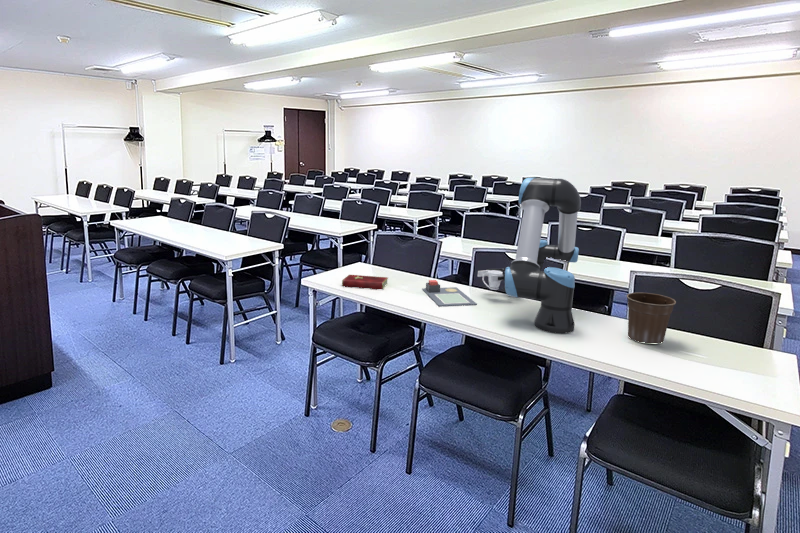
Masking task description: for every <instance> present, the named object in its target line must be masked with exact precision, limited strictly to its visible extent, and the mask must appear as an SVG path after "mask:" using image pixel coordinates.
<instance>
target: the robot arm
mask: <svg viewBox="0 0 800 533" xmlns="http://www.w3.org/2000/svg"><path fill="white" fill-rule="evenodd" d="M581 200H582V199H581V196H580V192H579V191H578V190H577V188H576V186H575V185H574V184H572V182H570V181H569V180H566V179H564V178H550V177H549V178H548V177H535V176H534V177H526V178H525V179H523V181H522V183H521V185H520V188H519V194H518V204H519V205H520V207H521V209H522V210H523V215H522V220H521V224H520V225H521V226H520V232H519V236H518V243H517V248H516V255H515V258H514V259H513V260H512V261H511V262H510V264H509V265H510V266H507V267H505V268H504V267H502V268H486V270H477V277H478V278H481V277H482V278H483V274H484V273H486V272H488V271H492V270H495V271H501V272H503V274H502V275H493V276H491V282H494V281H501V282H504V289H505V293H506V295H507V296H509V297H515V298H522V299H527V300H528V299H529V300H530V299H531V300H539V301H541V303H540V308H539V309H538V312H537V314H536V317H535V319H534V326H535V328H536V329H538V330H540V331H544V332H545V333H546V332H547V333H551V334H561V335H562V334H571V333H573V332H574V330H575V326H576V325H575V320H574V319H575V318H574V316H573V311H572V310H573V309H572V308H573V302H574V301H573V300H574V299H573V298H574V292H575V291H574V290H575V287H576V285H575V281H576V280H575V279H576V278H575V275H574V274H573V273H572V272H570V271H568V270H565V269H562V268H559V267H552V266H549V267H547V268H545V269H544V271H541V269H542V267H543V263H544V259H546V257H548V258H550V257H552V258H554V259H561V260H566V261H568V262H567V263H577V262H578V260H579V252H580V249H579V247H577V246H576V239H577V238H576V235H577V223H578V215H579V214H578V212H580V210H581V207H582V206H581V205H582V201H581ZM550 207H556V208H557V211H558V214H559V215H558V216H559V217H558V218H559V219H558V235H557V236H558V238H557V244H548V243H549V242H548V240H546V239H542V234H543V233H542V231H543V225H544V219H545V214H546V213H547V212H548V211H549V210H550ZM484 277H488V274H487V273H486V274H485V275H484Z"/></svg>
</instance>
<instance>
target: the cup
mask: <svg viewBox="0 0 800 533" xmlns="http://www.w3.org/2000/svg"><path fill="white" fill-rule="evenodd" d="M486 273H487V274H488V276H487V277H488V284H487V283H486V281H485V276H484V275H485V274H486ZM486 273H484V274H483V277H482V282H483V284H484V285H485V286H486V287H487V288H489V290H494V291H497V290H499V289H500V288H499V287H500V286H501V282H502V281H494V282H491V276H493V275H502V274H503V272H501V271H495V270H492V271H488V272H486Z"/></svg>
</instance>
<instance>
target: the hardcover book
mask: <svg viewBox="0 0 800 533" xmlns="http://www.w3.org/2000/svg"><path fill="white" fill-rule="evenodd" d="M388 280H389V277H386V276H371V275H360V274H348V275H346V276H345V277H344V278H342V280H341V285H342V286H345V287H344V288H352V287H359V288H358V289H364V288H372V289H371V290H377V289H383V290H384V289H385V288H386V286H387V285H388ZM386 284H387V285H386ZM385 285H386V286H385Z"/></svg>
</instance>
